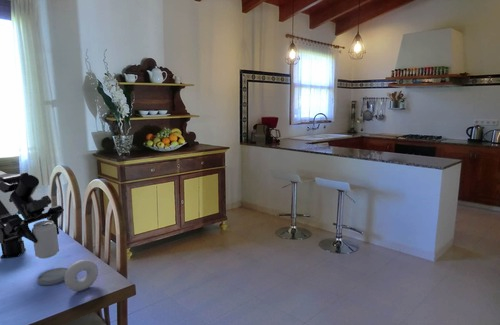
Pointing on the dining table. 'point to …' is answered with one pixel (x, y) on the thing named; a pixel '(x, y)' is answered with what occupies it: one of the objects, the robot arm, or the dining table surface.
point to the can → (45, 239)
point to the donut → (85, 282)
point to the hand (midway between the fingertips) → (47, 238)
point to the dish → (52, 277)
